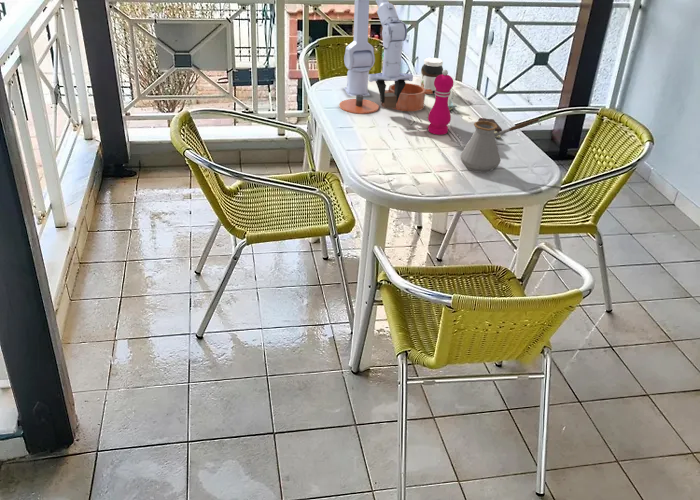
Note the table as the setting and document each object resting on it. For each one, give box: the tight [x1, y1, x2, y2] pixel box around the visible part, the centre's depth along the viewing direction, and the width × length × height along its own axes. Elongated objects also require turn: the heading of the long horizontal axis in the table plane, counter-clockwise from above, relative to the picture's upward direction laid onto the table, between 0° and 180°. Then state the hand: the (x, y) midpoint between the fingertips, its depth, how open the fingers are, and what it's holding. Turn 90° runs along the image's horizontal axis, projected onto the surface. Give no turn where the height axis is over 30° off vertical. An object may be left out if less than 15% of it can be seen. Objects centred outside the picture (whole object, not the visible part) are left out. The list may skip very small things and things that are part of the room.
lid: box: [338, 95, 380, 115], centre depth 232 cm, size 14×14×5 cm
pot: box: [385, 82, 433, 112], centre depth 235 cm, size 13×18×6 cm
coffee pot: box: [459, 118, 542, 174], centre depth 191 cm, size 21×12×15 cm, turn 95°
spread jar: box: [419, 57, 452, 95], centre depth 250 cm, size 12×11×12 cm
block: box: [380, 93, 397, 109], centre depth 224 cm, size 4×4×4 cm
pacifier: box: [448, 90, 458, 111], centre depth 236 cm, size 7×6×6 cm
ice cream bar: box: [477, 117, 503, 139], centre depth 220 cm, size 5×2×15 cm
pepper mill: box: [427, 69, 454, 136], centre depth 213 cm, size 7×7×20 cm
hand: (388, 102), depth 225 cm, fingers closed on block, 4 cm apart
